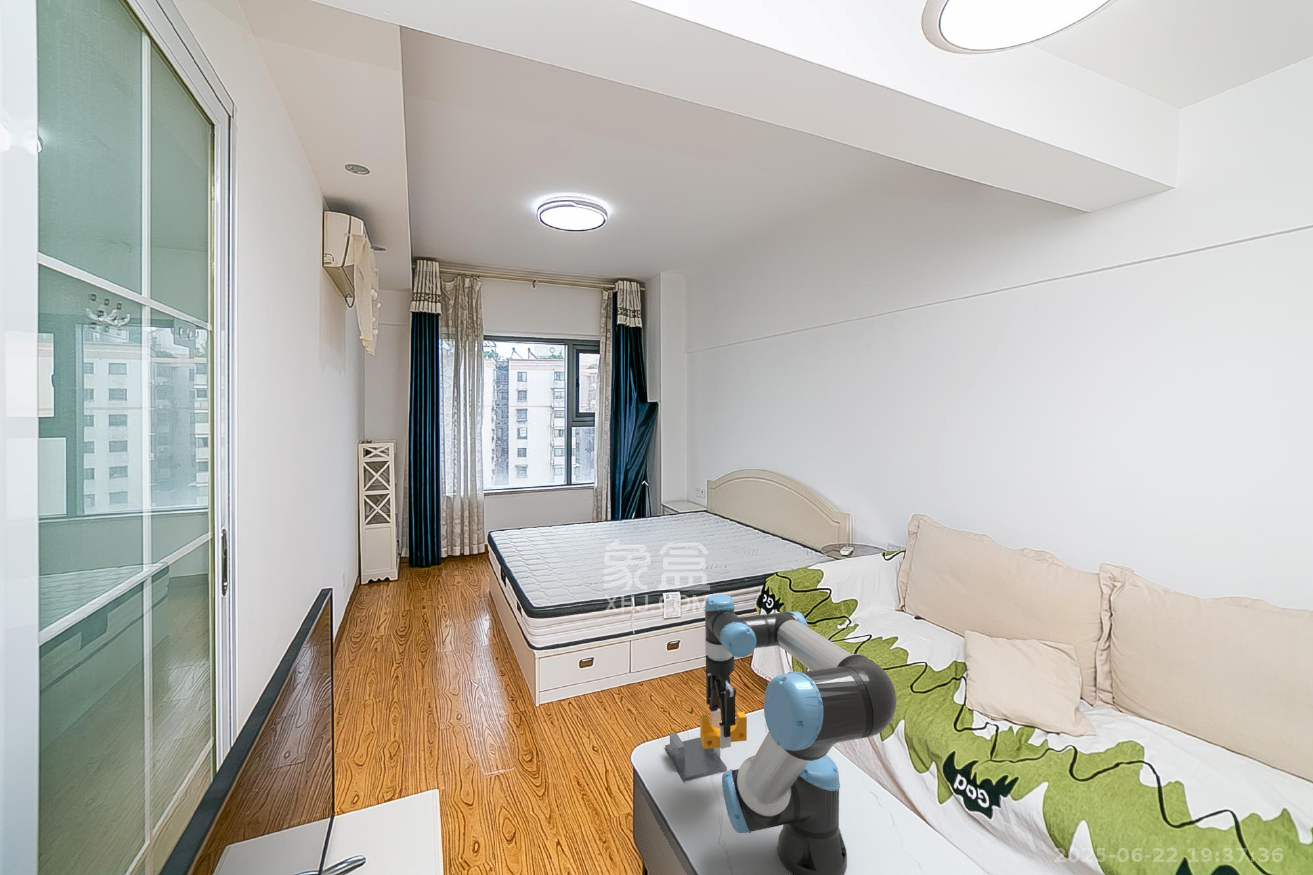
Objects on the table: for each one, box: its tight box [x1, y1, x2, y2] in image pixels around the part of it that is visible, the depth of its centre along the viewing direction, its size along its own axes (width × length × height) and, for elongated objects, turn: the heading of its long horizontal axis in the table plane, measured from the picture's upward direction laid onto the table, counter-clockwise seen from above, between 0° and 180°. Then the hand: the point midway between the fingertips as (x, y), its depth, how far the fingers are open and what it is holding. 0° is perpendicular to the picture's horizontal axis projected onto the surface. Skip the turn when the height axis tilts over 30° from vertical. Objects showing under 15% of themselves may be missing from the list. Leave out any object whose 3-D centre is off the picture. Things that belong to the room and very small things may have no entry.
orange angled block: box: [699, 711, 748, 749], centre depth 145 cm, size 12×4×6 cm, turn 98°
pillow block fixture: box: [664, 732, 728, 782], centre depth 160 cm, size 16×13×7 cm
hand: (720, 740), depth 145 cm, fingers closed on orange angled block, 5 cm apart
